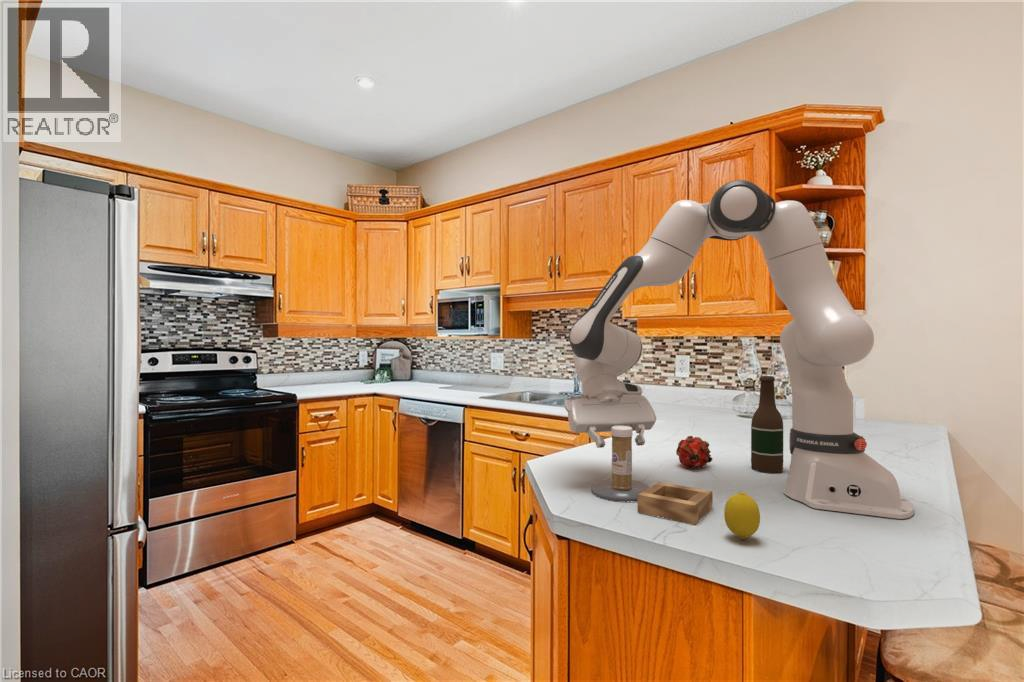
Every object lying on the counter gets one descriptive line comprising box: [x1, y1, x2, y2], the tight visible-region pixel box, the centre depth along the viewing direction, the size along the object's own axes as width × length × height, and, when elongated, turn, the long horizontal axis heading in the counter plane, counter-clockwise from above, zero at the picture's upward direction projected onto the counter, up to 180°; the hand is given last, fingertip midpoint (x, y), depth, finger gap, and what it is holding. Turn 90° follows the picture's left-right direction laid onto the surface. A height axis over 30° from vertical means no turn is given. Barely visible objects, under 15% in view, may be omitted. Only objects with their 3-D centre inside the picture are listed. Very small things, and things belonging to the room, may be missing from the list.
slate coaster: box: [591, 479, 650, 503], centre depth 113 cm, size 13×13×1 cm
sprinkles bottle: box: [610, 426, 633, 490], centre depth 113 cm, size 5×5×14 cm
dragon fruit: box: [675, 435, 713, 470], centre depth 136 cm, size 8×8×12 cm
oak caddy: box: [637, 481, 714, 525], centre depth 102 cm, size 11×11×4 cm
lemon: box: [723, 491, 761, 540], centre depth 87 cm, size 6×6×8 cm
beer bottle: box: [750, 375, 784, 475], centre depth 132 cm, size 8×8×24 cm
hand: (621, 445), depth 113 cm, fingers open, 8 cm apart
